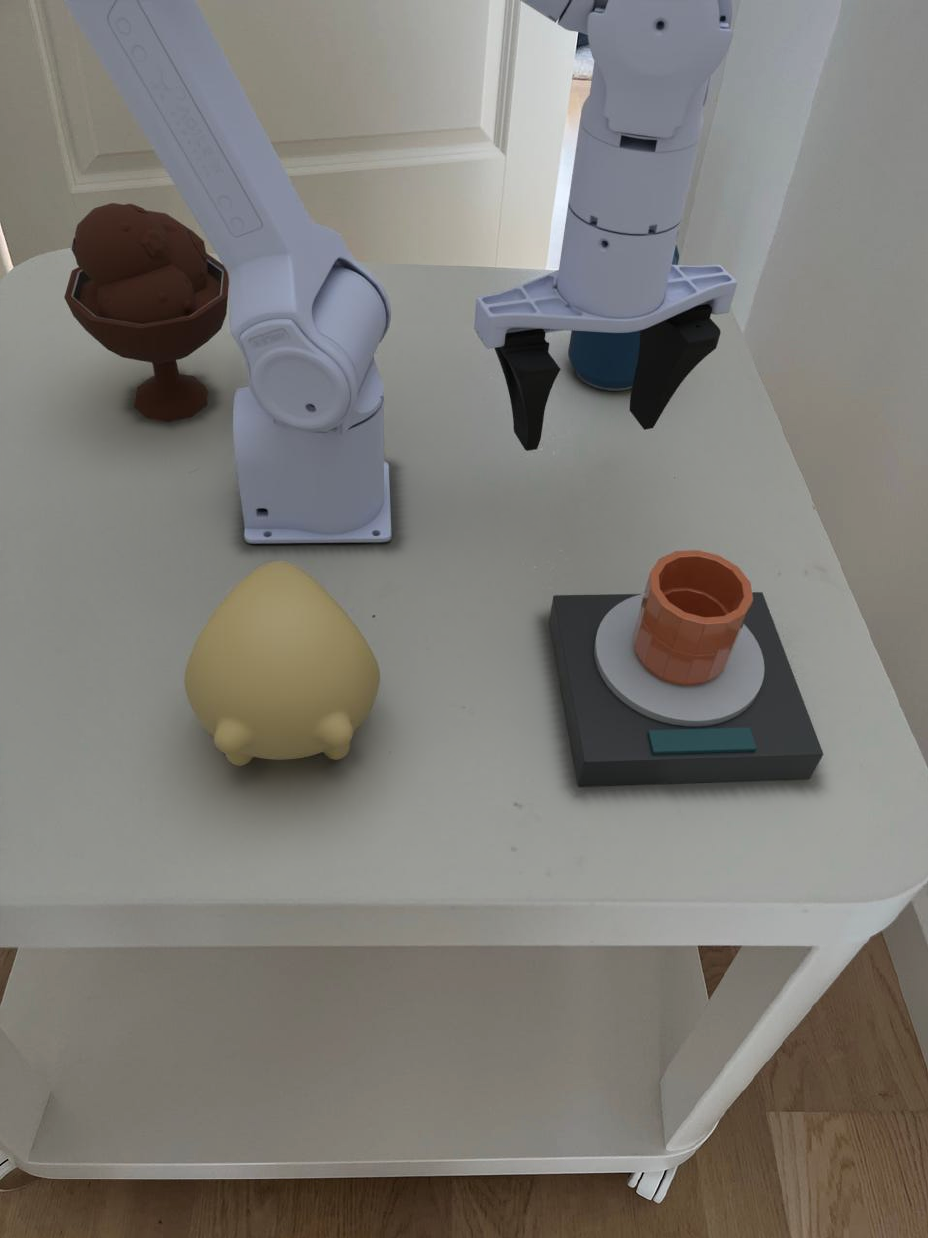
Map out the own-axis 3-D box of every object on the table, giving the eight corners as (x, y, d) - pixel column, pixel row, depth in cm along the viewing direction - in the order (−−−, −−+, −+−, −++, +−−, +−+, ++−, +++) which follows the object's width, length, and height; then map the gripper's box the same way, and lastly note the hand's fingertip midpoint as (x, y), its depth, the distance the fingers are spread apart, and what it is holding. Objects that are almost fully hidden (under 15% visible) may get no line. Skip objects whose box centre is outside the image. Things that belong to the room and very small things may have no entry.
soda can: (662, 394, 79) (697, 250, 70) (576, 397, 78) (601, 252, 69) (638, 344, 84) (668, 204, 75) (557, 347, 83) (578, 205, 74)
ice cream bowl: (217, 454, 71) (185, 255, 60) (68, 428, 72) (10, 228, 61) (266, 371, 78) (246, 179, 67) (130, 348, 79) (88, 156, 68)
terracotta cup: (633, 684, 55) (652, 618, 51) (630, 611, 59) (648, 544, 55) (731, 694, 55) (758, 629, 51) (722, 620, 59) (746, 554, 55)
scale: (577, 787, 54) (585, 755, 52) (548, 621, 62) (554, 587, 60) (810, 779, 55) (828, 748, 53) (752, 617, 63) (765, 584, 61)
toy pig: (374, 748, 59) (372, 567, 59) (387, 779, 47) (383, 553, 47) (204, 753, 58) (201, 569, 58) (172, 787, 46) (169, 555, 46)
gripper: (713, 160, 54) (661, 373, 64) (461, 185, 50) (448, 409, 60) (782, 221, 50) (715, 440, 60) (512, 254, 46) (489, 482, 56)
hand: (584, 429), depth 60 cm, fingers open, 7 cm apart
